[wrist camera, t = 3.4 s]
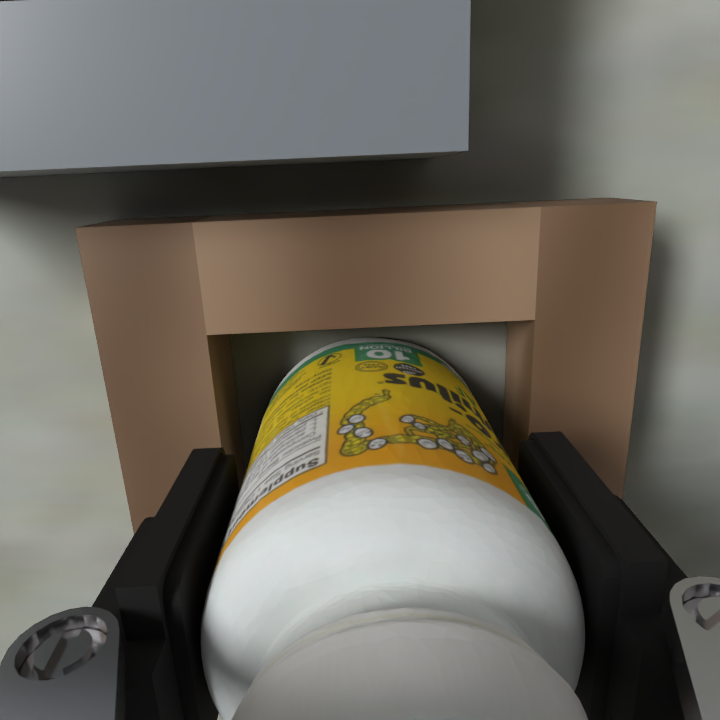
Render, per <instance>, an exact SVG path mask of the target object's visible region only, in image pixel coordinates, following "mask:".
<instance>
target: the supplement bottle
mask: <svg viewBox="0 0 720 720" xmlns="http://www.w3.org/2000/svg"><path fill="white" fill-rule="evenodd" d="M200 644H201V657H202V663H203V669H204V675H205V679H206V682H207V685H208V689H209V692H210V694H211V697H212V700H213V703H214V705H215V706H216V708H217V710H218V712H219V714H220V716H221V718H222V720H588V718H587V715H586V713H585V711H584V708H583V706H582V704H581V702H580V700H579V699H578V697H577V696H576V694H575V693H574V691H575V689H576V686H577V684H578V680H579V676H580V671H581V667H582V663H583V657H584V650H585V620H584V612H583V606H582V600H581V596H580V593H579V589H578V585H577V582H576V580H575V577H574V575H573V573H572V570H571V568H570V565H569V563H568V561H567V559H566V557H565V555H564V553H563V551H562V549H561V547H560V545H559V544H558V542H557V540H556V539H555V537H554V535H553V533H552V532H551V530H550V528H549V526H548V524H547V523H546V521H545V519H544V517H543V515H542V514H541V512H540V510H539V509H538V507H537V505H536V504H535V502H534V500H533V498H532V497H531V495H530V493H529V491H528V490H527V488H526V486H525V484H524V483H523V481H522V479H521V478H520V476H519V474H518V472H517V471H516V469H515V467H514V466H513V464H512V463H511V461H510V459H509V457H508V455H507V454H506V452H505V450H504V449H503V447H502V445H501V443H500V441H499V440H498V438H497V437H496V435H495V433H494V431H493V430H492V428H491V426H490V424H489V423H488V421H487V419H486V417H485V415H484V414H483V412H482V411H481V409H480V407H479V405H478V403H477V401H476V399H475V398H474V396H473V394H472V393H471V391H470V389H469V388H468V386H467V385H466V383H465V382H464V381H463V379H462V378H461V377H460V376H459V374H458V373H457V372H456V371H455V370H454V369H453V368H452V367H451V366H450V365H449V364H448V363H446V362H445V361H444V360H443V359H441V358H440V357H438V356H437V355H436V354H434V353H432V352H431V351H429V350H427V349H425V348H423V347H420V346H418V345H416V344H413V343H409V342H405V341H400V340H393V339H385V338H373V337H367V338H352V339H347V340H342V341H337V342H334V343H331V344H329V345H326V346H324V347H322V348H320V349H318V350H316V351H315V352H313V353H311V354H310V355H308V356H307V357H305V358H304V359H303V360H302V361H300V362H299V363H298V364H297V365H296V366H295V367H294V368H293V369H292V370H291V371H290V372H289V373H288V374H287V375H286V376H285V377H284V379H283V380H282V381H281V383H280V384H279V386H278V387H277V389H276V391H275V393H274V394H273V396H272V398H271V400H270V402H269V405H268V407H267V410H266V412H265V415H264V417H263V420H262V423H261V426H260V429H259V432H258V435H257V438H256V441H255V445H254V448H253V451H252V454H251V457H250V461H249V464H248V467H247V470H246V473H245V476H244V480H243V483H242V485H241V488H240V491H239V494H238V497H237V500H236V502H235V506H234V510H233V512H232V515H231V519H230V522H229V525H228V528H227V531H226V534H225V537H224V540H223V543H222V546H221V549H220V552H219V555H218V559H217V562H216V565H215V568H214V571H213V574H212V578H211V581H210V584H209V587H208V590H207V595H206V599H205V604H204V609H203V614H202V620H201V641H200Z"/></svg>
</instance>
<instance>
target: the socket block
mask: <svg viewBox="0 0 720 720" xmlns="http://www.w3.org/2000/svg"><path fill="white" fill-rule="evenodd" d="M470 13H471V0H21V1H0V177H15V176H37V175H60V174H82V173H105V172H128V171H150V170H173V169H195V168H218V167H241V166H263V165H286V164H308V163H331V162H354V161H376V160H399V159H422V158H434V157H439V156H444V155H449V154H454V153H459V152H464V151H468V141H469V77H470Z"/></svg>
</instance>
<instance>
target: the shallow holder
mask: <svg viewBox="0 0 720 720" xmlns="http://www.w3.org/2000/svg"><path fill="white" fill-rule="evenodd" d="M656 204H657V202H654V201H643V200H631V199H620V198H592V199H570V200H548V201H525V202H503V203H481V204H458V205H436V206H414V207H391V208H369V209H347V210H324V211H302V212H280V213H258V214H235V215H213V216H191V217H168V218H146V219H124V220H113V221H108V222H102V223H97V224H92V225H87V226H82V227H77V228H75V230H76V235H77V240H78V246H79V251H80V256H81V261H82V266H83V272H84V277H85V282H86V287H87V292H88V298H89V303H90V308H91V313H92V318H93V323H94V329H95V334H96V339H97V344H98V349H99V355H100V360H101V365H102V370H103V375H104V381H105V386H106V391H107V396H108V401H109V406H110V412H111V417H112V422H113V427H114V432H115V438H116V443H117V448H118V453H119V458H120V464H121V469H122V474H123V479H124V484H125V489H126V495H127V500H128V505H129V510H130V515H131V521H132V526H133V531H134V534H135V533H136V531H137V529H138V528H139V526H140V524H141V523H142V522H143V520H144V519H145V518H147V517H155V516H156V514H157V512H158V510H159V509H160V507H161V505H162V503H163V501H164V500H165V498H166V496H167V494H168V493H169V491H170V489H171V487H172V485H173V484H174V482H175V480H176V478H177V477H178V475H179V473H180V471H181V469H182V468H183V466H184V464H185V462H186V460H187V459H188V457H189V455H190V453H191V452H192V450H193V449H199V448H220V447H223V449H224V450H225V453H226V454H234V456H235V460H236V467H237V475H238V483H239V491H240V488H241V485H242V483H243V480H244V476H245V473H246V472H245V463H244V455H243V446H242V438H241V429H240V421H239V412H238V403H237V395H236V386H235V378H234V369H233V361H232V352H231V344H230V335H229V334H240V333H262V332H283V331H305V330H327V329H348V328H370V327H392V326H413V325H435V324H456V323H478V322H500V321H507V345H506V370H505V396H504V422H503V449H504V450H505V452H506V454H507V455H508V457H509V459H510V461H511V463H512V464H513V466H514V467H515V469H516V471H517V472H518V458H519V445H520V442H521V440H528V438H529V435H530V434H531V433H533V432H555V431H561V432H562V433H563V434H564V435H565V437H566V438H567V439H568V440H569V441H570V443H571V444H572V445H573V446H574V447H575V449H576V450H577V451H578V452H579V453H580V455H581V456H582V457H583V458H584V459H585V461H586V462H587V463H588V464H589V465H590V467H591V468H592V469H593V470H594V471H595V473H596V474H597V475H598V476H599V477H600V479H601V480H602V481H603V482H604V483H605V485H606V486H607V487H608V488H609V490H610V491H611V492H612V493H613V494H614V495H617V496H618V497H619V498H620V499H622V500H623V491H624V483H625V474H626V465H627V457H628V448H629V439H630V430H631V422H632V413H633V404H634V396H635V387H636V378H637V369H638V361H639V352H640V343H641V335H642V326H643V317H644V309H645V300H646V291H647V282H648V274H649V265H650V256H651V248H652V239H653V230H654V222H655V213H656Z"/></svg>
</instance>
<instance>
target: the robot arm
mask: <svg viewBox="0 0 720 720" xmlns="http://www.w3.org/2000/svg"><path fill="white" fill-rule="evenodd" d="M518 474H519V476H520V478H521V479H522V481H523V483H524V484H525V486H526V488H527V490H528V491H529V493H530V495H531V497H532V498H533V500H534V502H535V504H536V505H537V507H538V509H539V510H540V512H541V514H542V515H543V517H544V519H545V521H546V523H547V524H548V526H549V528H550V530H551V532H552V533H553V535H554V537H555V539H556V540H557V542H558V544H559V545H560V547H561V549H562V551H563V553H564V555H565V557H566V559H567V561H568V563H569V565H570V568H571V570H572V573H573V575H574V577H575V580H576V582H577V585H578V589H579V593H580V596H581V600H582V606H583V612H584V620H585V650H584V657H583V663H582V667H581V671H580V676H579V680H578V684H577V686H576V689H575V691H574V693H575V694H576V696H577V697H578V699H579V700H580V702H581V704H582V706H583V708H584V711H585V713H586V715H587V718H588V720H720V578H716V577H702V576H697V577H691V578H687V576H686V575H685V574H684V573H683V572H682V570H681V569H680V568H679V567H678V566H677V565H676V563H675V562H674V561H673V560H672V559H671V557H670V556H669V555H668V554H667V553H666V551H665V550H664V549H663V548H662V547H661V546H660V544H659V543H658V542H657V541H656V540H655V538H654V537H653V536H652V535H651V534H650V532H649V531H648V530H647V529H646V528H645V527H644V525H643V524H642V523H641V522H640V521H639V519H638V518H637V517H636V516H635V515H634V514H633V512H632V511H631V510H630V509H629V508H628V506H627V505H626V504H625V503H624V502H623V500H622V499H620V498H619V497H618V496H617V495H614V494H613V493H612V492H611V491H610V490H609V488H608V487H607V486H606V485H605V483H604V482H603V481H602V480H601V479H600V477H599V476H598V475H597V474H596V473H595V471H594V470H593V469H592V468H591V467H590V465H589V464H588V463H587V462H586V461H585V459H584V458H583V457H582V456H581V455H580V453H579V452H578V451H577V450H576V449H575V447H574V446H573V445H572V444H571V443H570V441H569V440H568V439H567V438H566V437H565V435H564V434H563V433H562V432H561V431H555V432H533V433H531V434H530V435H529V438H528V440H521V442H520V445H519V458H518ZM238 494H239V483H238V475H237V467H236V460H235V456H234V454H226V453H225V450H224V449H223V447H220V448H199V449H193V450H192V452H191V453H190V455H189V457H188V459H187V460H186V462H185V464H184V466H183V468H182V469H181V471H180V473H179V475H178V477H177V478H176V480H175V482H174V484H173V485H172V487H171V489H170V491H169V493H168V494H167V496H166V498H165V500H164V501H163V503H162V505H161V507H160V509H159V510H158V512H157V514H156V516H155V517H147V518H145V519H144V520H143V522H142V523H141V524H140V526H139V528H138V529H137V531H136V533H135V534H134V536H133V538H132V540H131V541H130V543H129V545H128V546H127V548H126V550H125V551H124V553H123V555H122V556H121V558H120V560H119V562H118V563H117V565H116V567H115V568H114V570H113V572H112V573H111V575H110V577H109V579H108V580H107V582H106V584H105V585H104V587H103V589H102V590H101V592H100V594H99V595H98V597H97V599H96V601H95V602H94V604H93V606H92V607H80V608H74V609H68V610H65V611H63V612H60V613H57V614H54V615H51V616H49V617H47V618H45V619H44V620H42V621H40V622H38V623H36V624H34V625H33V626H32V627H30V628H29V629H28V630H26V631H25V632H24V633H23V634H21V635H20V636H19V637H18V638H17V639H16V640H15V641H14V643H13V644H12V645H11V646H10V647H9V648H8V650H7V652H6V654H5V656H4V658H3V660H2V662H1V665H0V720H217V718H218V713H219V712H218V710H217V708H216V706H215V705H214V703H213V700H212V697H211V694H210V692H209V689H208V685H207V682H206V679H205V675H204V669H203V663H202V657H201V644H200V641H201V620H202V614H203V609H204V604H205V599H206V595H207V590H208V587H209V584H210V581H211V578H212V574H213V571H214V568H215V565H216V562H217V559H218V555H219V552H220V549H221V546H222V543H223V540H224V537H225V534H226V531H227V528H228V525H229V522H230V519H231V515H232V512H233V510H234V506H235V502H236V500H237V497H238Z"/></svg>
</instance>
